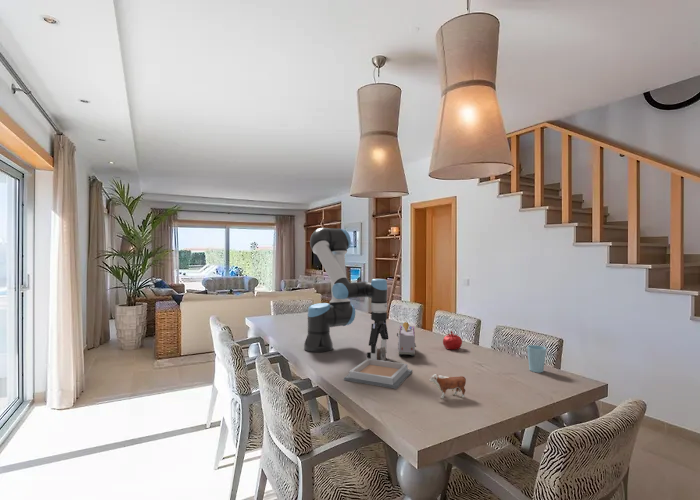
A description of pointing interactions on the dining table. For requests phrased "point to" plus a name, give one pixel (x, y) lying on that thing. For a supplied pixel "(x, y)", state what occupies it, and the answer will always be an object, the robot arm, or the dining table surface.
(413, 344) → the toy vehicle
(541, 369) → the cup
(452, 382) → the bull figurine
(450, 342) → the pomegranate
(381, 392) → the dining table surface
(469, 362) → the dining table surface
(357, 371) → the tray
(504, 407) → the dining table surface
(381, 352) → the caster wheel
